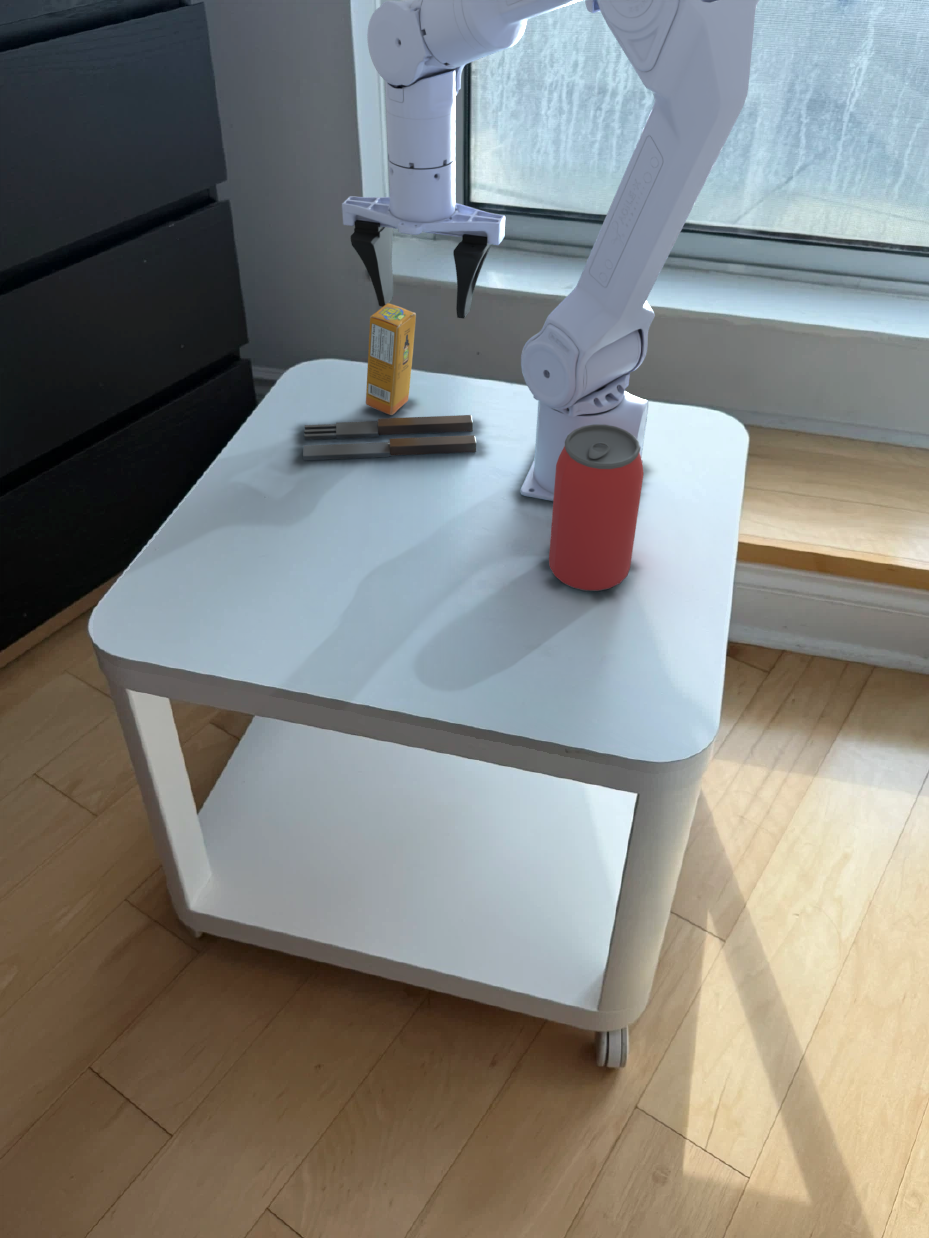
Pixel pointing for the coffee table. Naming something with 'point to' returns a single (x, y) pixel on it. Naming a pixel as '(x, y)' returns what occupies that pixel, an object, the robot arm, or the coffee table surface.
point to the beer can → (595, 507)
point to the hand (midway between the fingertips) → (424, 308)
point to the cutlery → (397, 444)
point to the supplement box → (390, 358)
